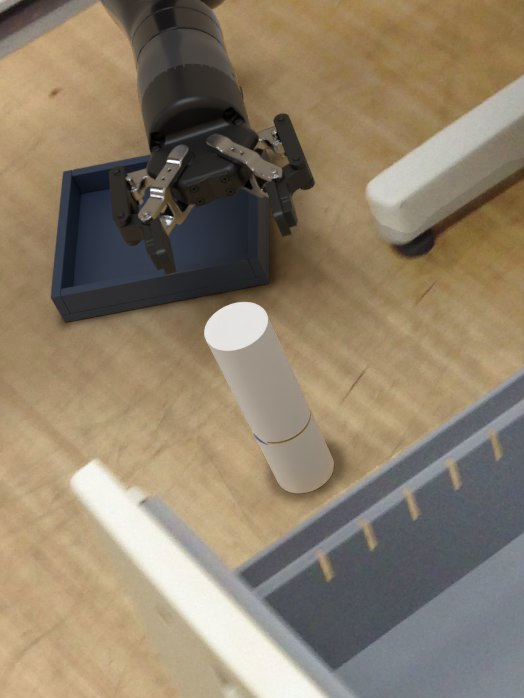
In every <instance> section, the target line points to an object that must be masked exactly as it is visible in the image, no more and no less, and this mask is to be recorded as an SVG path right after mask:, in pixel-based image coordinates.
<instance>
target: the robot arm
mask: <svg viewBox="0 0 524 698" xmlns="http://www.w3.org/2000/svg"><path fill="white" fill-rule="evenodd" d="M99 1H100V4H101V5H102V7H103V8H104V10H105V11H106V13H107V14H108V16H109V17H110V19H111V20H112V22H113V23H114V25H116V26H117V28H118V29H119V30H120V31H121V32H122V33H123V35H124V36H125V37H126V38H127V40H128V43H129V45H130V48H131V51H132V55H133V60H134V65H135V70H136V90H137V97H138V101H139V106H140V111H141V116H142V120H143V125H144V130H145V135H146V140H147V145H148V150H149V155H151V156H150V160H149V162H148V164H147V168H146V169H142V170H139V171H135V172H132V173H128V174H127V173H126V171H125V169H124V167H122V166H116V167H114V168H112V169H111V170H110V171H109V184H110V195H111V206H112V217H113V220H114V222H115V224H116V226H117V228H118V229H119V231H120V233H121V235H122V237H123V239H124V241H125V242H126V244H127V245H128V246H135V245H137V244H139V243H140V242H141V240H144V241H145V246H146V251H147V253H148V255H149V257H150V259H151V261H152V263H153V265H154V267H155V268H156V269H157V270H160V269H164V271H165V273H166V274H167V275H168V274H171V273H174V272H176V266H175V262H174V257H173V252H172V247H171V242H170V239H169V237H168V236H169V234H170V233H171V231H172V230H173V228H174V227H175V225H176V224H179V225H181V224H182V223H183V222H184V220H185V219H186V217H187V216H188V214H189V213H190V211H191V210H192V208H193V207H194V205H196V207H199V206H202V205H206V204H208V203H210V202H212V201H214V200H216V199H219V198H226V197H230V196H233V195H236V194H238V193H237V191H238V190H240V189H241V190H243V191H245V192H247V193H250V194H252V195H254V196H256V197H258V198H263V197H264V196H265V197H268V198H269V205H270V209H271V212H272V214H273V218H274V221H275V223H276V225H277V228H278V230H279V232H280V235H281V237H282V238H287V237H289V236H292V235H293V233H292V229H291V228H294V227H296V226H298V222H299V219H298V215H297V211H296V207H295V203H294V200H293V197H294V194H295V192H297V191H298V190H302V191H309V190H311V189H313V188H314V186H315V185H316V181H315V179H314V176H313V173H312V170H311V168H310V165H309V163H308V161H307V158H306V156H305V152H304V149H303V147H302V145H301V143H300V142H301V141H300V140H299V137H298V135H297V133H296V130H295V127H294V125H293V123H292V120H291V117H290V115H289V114H288V113H279V114H277V115H276V116H274V117H273V120H272V122H273V124H274V126H272V127H268V128H266V129H263V130H260V131H258V132H256V131H255V130H254V129H253V128H251V123H250V119H249V116H248V113H247V112H248V111H247V109H246V104H245V101H244V100H245V99H244V98H245V97H244V92H243V87H242V86H241V84H240V81H239V78H238V75H237V72H236V70H235V67H234V65H233V63H232V61H231V60H230V57H229V53H228V49H227V45H226V41H225V37H224V34H223V33H224V32H223V30H222V27H221V23H220V22H219V19H218V17H217V15H216V13H215V11H214V10H215V9H217V8H218V7H221V6H222V5H223V4H224V3H225V2H226V0H99ZM264 149H266V150H271V151H272V152H273V153H274V154H275V155H279V156H280V158H281V159H287V161H288V163H287V164H286V165H284V166H282V167H281V166H278V165H276V164H274V163H272V162H271V161H270V162H267V161H265V160H263V159H262V156H263V153H264ZM150 186H151V187H150ZM149 187H150V197H149V199H148V200H147V202H146V203H145V204H144V206H143V207H142V209H141V210H140V212H139V206H138V204H139V205H141V204H143V203H144V200H143V197H144V195H145V191H146V189H147V188H149ZM174 198H175V199H177V200H176V201H175V199H174ZM159 214H160V217H159V218H158V215H159Z"/></svg>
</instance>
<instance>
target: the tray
mask: <svg viewBox="0 0 524 698" xmlns="http://www.w3.org/2000/svg"><path fill="white" fill-rule="evenodd" d="M150 156H151V155H150V154H145V155H140V156H134V157H130V158H124V159H120V160H115V161H109V162H104V163H100V164H95V165H89V166H84V167H79V168H75V169H69V170H64V171H62V177H61V178H62V179H61V189H60V197H59V208H58V210H59V211H58V217H57V226H56V227H57V229H56V230H57V231H56V238H55V239H56V240H55V247H54V259H53V269H52V279H51V288H50V300H51V301H52V303H53V305H54V306H55V308H56V310H57V311H58V313H59V315H60V317H61V319H62V320H63V322H64V323H69V322H74V321H75V322H76V321H80V320H86V319H90V318H96V317H101V316H105V315H106V316H107V315H112V314H117V313H122V312H127V311H132V310H138V309H143V308H147V307H152V306H158V305H163V304H168V303H173V302H178V301H179V302H180V301H185V300H189V299H194V298H195V299H196V298H201V297H204V296H211V295H215V294H220V293H221V294H222V293H227V292H231V291H236V290H241V289H247V288H251V287H257V286H262V285H267V284H270V200H269V198H268V197H265V196H264V197H263V198H258V197H256V196H254V195H252V194H250V193H247V192H245V191H243V190H241V189H240V190H238V191H237V193H238V194H236V195H233V196H230V197H226V198H219V199H216V200H214V201H212V202H210V203H208V204H206V205H202V206H199V207H196V205H194V207H193V208H192V210H191V211H190V213H189V214H188V216H187V217H186V219H185V220H184V222H183V223H182V224H181V225H179V224H176V225H175V227H174V228H173V230H172V231H171V233H170V234H169V236H168V237H169V239H170V242H171V247H172V252H173V257H174V262H175V266H176V272H174V273H171V274H168V275H167V274H166V273H165V271H164V269H160V270H157V269H156V268H155V267H154V265H153V263H152V261H151V259H150V257H149V255H148V253H147V251H146V246H145V241H144V240H141V242H140V243H139V244H137V245H135V246H128V245H127V244H126V242H125V241H124V239H123V237H122V235H121V233H120V231H119V229H118V228H117V226H116V224H115V222H114V220H113V217H112V206H111V195H110V184H109V171H110V170H111V169H112V168H114V167H116V166H122V167H124V169H125V171H126V173H127V174H128V173H132V172H135V171H139V170H142V169H146V168H147V164H148V162H149V160H150ZM262 159H263V160H265V161H267V162H270V163H271V160H270V156H269V154H268V151H267V149H264V153H263V156H262ZM150 187H151V186H150ZM150 187H149V188H147V189H146V191H145V195H144V197H143V200H144V203H143V204H141V205H139V204H138V206H139V212H140V210H141V209H142V207H143V206H144V204H145V203H146V202H147V200H148V199H149V197H150ZM174 199H175V198H174ZM176 200H177V199H175V201H176ZM159 217H160V214H159V215H158V218H159Z"/></svg>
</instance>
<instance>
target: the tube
mask: <svg viewBox="0 0 524 698" xmlns="http://www.w3.org/2000/svg"><path fill="white" fill-rule="evenodd" d="M203 334H204V339H205V341H206V343H207V346H208V347H209V350H210V351H211V353H212V355H213V357H214V359H215V361H216V363H217V365H218V367H219V369H220V372H221V373H222V374H223V375H222V376H223V377H224V378H225V381H226V382H227V385H228V387H229V389H230V391H231V392H232V395H233V397H234V398H235V400H236V403H237V404H238V406H239V409H240V410H241V413H242V415H243V417H244V418H245V421H246V422H247V424H248V426H249V429H250V431H251V432H252V433H253V436H254V438H255V440H256V442H257V444H258V447H259V448H260V450H261V452H262V454H263V455H264V458H265V460H266V462H267V464H268V466H269V468H270V470H271V472H272V474H273V476H274V478H275V480H276V481H277V484H278V485H279V487H280V488H281V489H283V490H284V491H286V492H287V493H288V492H289V493H292V494H307V493H311V492H314V491H315V490H317V489H319V488H321V487H322V486H324V485H325V484H326V483H327V482H328V481H329V480H330V478H331V477H332V475H333V472H334V470H335V461H334V458H333V456H332V453H331V452H330V451H331V450H330V449H329V447H328V445H327V443H326V440H325V439H324V436H323V434H322V432H321V430H320V428H319V427H320V426H319V425H318V423H317V421H316V418H315V416H314V414H313V412H312V409H311V408H310V405H309V403H308V401H307V399H306V397H305V395H304V391H303V390H302V388H301V386H300V383H299V381H298V379H297V377H296V374H295V372H294V370H293V368H292V366H291V363H290V361H289V359H288V357H287V354H286V353H285V351H284V348H283V346H282V344H281V342H280V339H279V338H278V337H279V336H278V335H277V333H276V331H275V329H274V326H273V324H272V322H271V320H270V318H269V315H268V313H267V311H266V310H265V309H264V307H262V306H261V305H259V304H258V303H255V302H250V301H238V302H233V303H230V304H228V305H225V306H223V307H222V308H220V309H218V310H217V311H216V312H214V313H213V314H212V315H211V316H210V317H209V319H208V320H207V322H206V324H205V326H204V330H203Z"/></svg>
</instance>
